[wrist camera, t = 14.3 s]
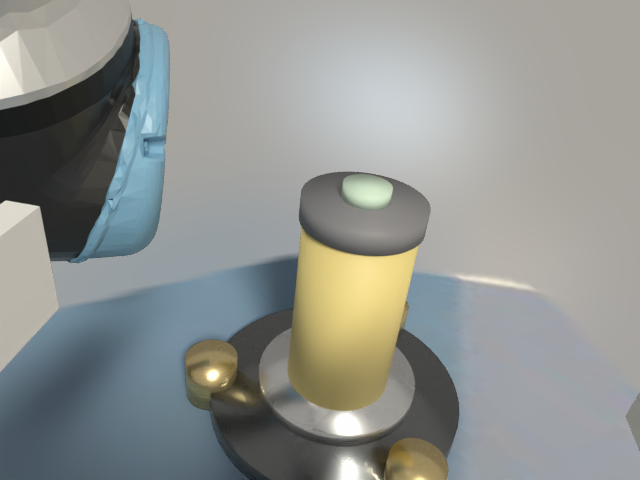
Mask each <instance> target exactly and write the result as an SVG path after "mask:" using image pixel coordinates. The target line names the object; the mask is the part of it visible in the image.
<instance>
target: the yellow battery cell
mask: <svg viewBox="0 0 640 480" xmlns="http://www.w3.org/2000/svg"><path fill="white" fill-rule="evenodd" d="M429 215H430V204H429V202H428V201H427V199H426V198H425V197H424V196H423V195H422V194H421V193H420V192H418V191H417V190H415V189H414V188H412V187H410V186H409V185H407V184H404V183H402V182H400V181H397V180H394V179H392V178H388V177H384V176H380V175H375V174H369V173H362V172H335V173H329V174H324V175H320V176H317V177H315V178H313V179H311V180H310V181H308V182H307V183H306V184H305V185H304V186H303V188H302V190H301V198H300V210H299V221H300V224H301V226H302V227H301V238H300V247H299V258H298V268H297V278H296V288H295V298H294V308H293V318H292V328H291V339H290V349H289V359H288V377H289V380H290V382H291V384H292V386H293V388H294V389H295V390H296V391H297V392H298V393H299V394H300V395H301V396H302V397H303V398H304V399H306V400H307V401H309V402H311V403H312V404H315V405H317V406H319V407H322V408H325V409H330V410H336V411H352V410H357V409H361V408H364V407H367V406H369V405H371V404H372V403H374V402H375V401H377V400H378V399H379V398H380V397H381V395H382V394H383V392H384V391H385V388H386V385H387V381H388V376H389V372H390V368H391V363H392V359H393V355H394V350H395V346H396V342H397V337H398V333H399V329H400V324H401V320H402V315H403V311H404V307H405V302H406V298H407V294H408V289H409V285H410V281H411V276H412V272H413V268H414V263H415V259H416V254H417V250H418V246H419V244H420V243H421V242H422V241H423V239H424V236H425V233H426V228H427V223H428V220H429Z"/></svg>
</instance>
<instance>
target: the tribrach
mask: <svg viewBox="0 0 640 480" xmlns="http://www.w3.org/2000/svg"><path fill="white" fill-rule="evenodd" d="M408 309H409V306H408V303H407V301H406V302H405V307H404V311H403V315H402V320H401V324H400V329H399V333H398V337H397V342H396V346H395V350H394V355H393V359H392V363H391V368H390V372H389V376H388V381H387V385H386V388H385V391H384V392H383V394H382V395H381V397H380V398H379V399H378V400H377V401H375V402H374V403H372V404H371V405H369V406H367V407H364V408H361V409H357V410H352V411H336V410H330V409H325V408H322V407H319V406H317V405H315V404H312V403H311V402H309V401H307V400H306V399H304V398H303V397H302V396H301V395H300V394H299V393H298V392H297V391H296V390H295V389H294V388H293V386H292V384H291V382H290V380H289V377H288V359H289V349H290V339H291V328H292V318H293V309H289V310H285V311H281V312H277V313H274V314H271V315H268V316H266V317H264V318H261V319H259V320H257V321H255V322H253V323H252V324H250V325H248V326H247V327H245V328H244V329H243V330H241V331H240V332H239V333H237V334H236V335H235V336H234V337H233V338H232V339H231V340H230V341H229V342H228V343H227V342H224V341H221V340H205V341H202V342H199V343H197V344H195V345H193V346H192V347H191V348H190V349H189V350H188V352H187V354H186V387H187V397H188V400H189V401H190V402H191V404H193V405H194V406H195V407H198V408H200V409H204V410H211V419H212V424H213V428H214V431H215V434H216V436H217V439H218V441H219V443H220V445H221V447H222V448H223V450H224V452H225V453H226V455H227V456H228V458H229V459H230V460H231V461H232V462H233V464H234V465H235V466H236V467H237V468H238V469H239V470H240V471H241V472H242V473H243V474H244V475H245V476H246V477H247V478H249V479H250V480H446V479H447V476H448V464H447V461H446V459H447V457H448V454H449V451H450V448H451V445H452V442H453V439H454V436H455V433H456V430H457V427H458V420H459V402H458V397H457V393H456V389H455V386H454V384H453V381H452V379H451V377H450V375H449V373H448V371H447V370H446V368H445V366H444V365H443V364H442V362H441V361H440V360H439V358H438V357H437V356H436V355H435V354H434V353H433V352H432V351H431V350H430V349H429V348H428V347H427V346H426V345H425V344H424V343H423V342H422V341H420V340H419V339H418V338H416V337H415V336H414V335H412V334H411V333H409V332H408V331H406V330H404V326H405V322H406V317H407V313H408Z"/></svg>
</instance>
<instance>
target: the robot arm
mask: <svg viewBox="0 0 640 480" xmlns="http://www.w3.org/2000/svg"><path fill="white" fill-rule="evenodd" d="M169 82H170V52H169V40H168V36H167V34H166V32H165V31H164V30H163V29H162V28H161V27H159V26H157V25H153V24H149V23H147V22H146V21H144V20H142V19H135V20H132V14H131V6H130V0H0V372H1V371H2V370H3V368H4V367H5V366H6V365H7V364H8V363H9V362H10V361H11V360H12V359H13V358H14V356H15V355H16V354H17V353H18V352H19V351H20V350H21V349H22V348H23V347H24V346H25V345H26V343H27V342H28V341H29V340H30V339H31V338H32V337H33V336H34V335H35V334H36V333H37V332H38V330H39V329H40V328H41V327H42V326H43V325H44V324H45V323H46V322H47V321H48V320H49V319H50V317H51V316H52V315H53V314H54V313H55V312H56V311H57V310H58V309H59V305H58V300H57V294H56V289H55V284H54V279H53V273H52V268H51V263H50V261H68V262H71V263H80V262H83V261H85V260H87V259H88V258H101V257H113V256H125V255H131V254H134V253H137V252H139V251H141V250H142V249H144V248H145V247H146V246H147V245H148V244H149V243H150V242H151V241H152V239H153V238H154V236H155V233H156V230H157V227H158V223H159V217H160V210H161V203H162V193H163V182H164V169H165V149H164V145H165V143H166V131H167V123H168V109H169ZM626 419H627V421H628V423H629V426H630V428H631V431H632V433H633V436H634V438H635V440H636V443H637V445H638V448H639V450H640V393H639V394H638V396H637V398H636V399H635V401H634V403H633V405H632V406H631V408H630V410H629V411H628V413H627V415H626Z"/></svg>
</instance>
